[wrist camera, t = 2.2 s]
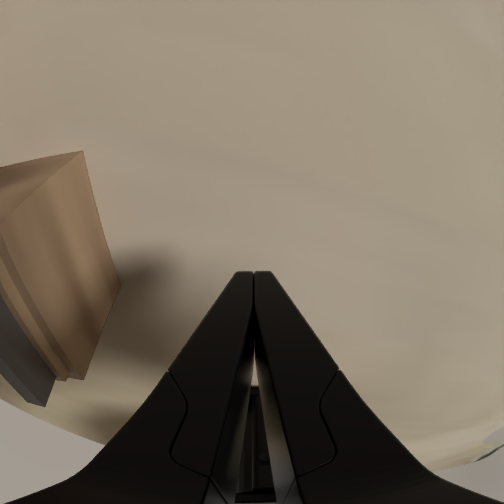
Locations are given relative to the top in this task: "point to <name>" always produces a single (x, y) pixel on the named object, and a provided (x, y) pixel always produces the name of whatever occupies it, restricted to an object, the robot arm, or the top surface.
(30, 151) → the top surface
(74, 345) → the block
